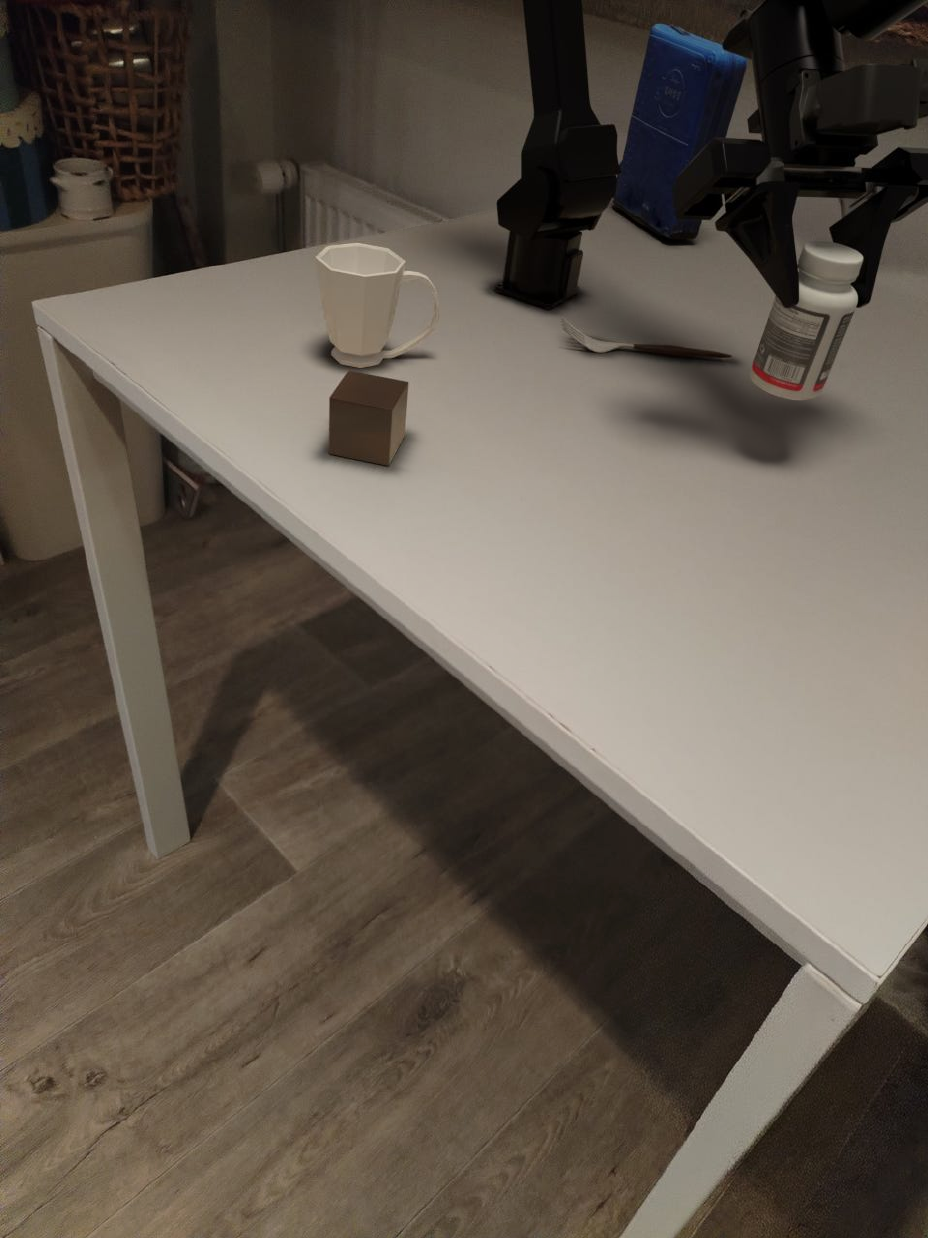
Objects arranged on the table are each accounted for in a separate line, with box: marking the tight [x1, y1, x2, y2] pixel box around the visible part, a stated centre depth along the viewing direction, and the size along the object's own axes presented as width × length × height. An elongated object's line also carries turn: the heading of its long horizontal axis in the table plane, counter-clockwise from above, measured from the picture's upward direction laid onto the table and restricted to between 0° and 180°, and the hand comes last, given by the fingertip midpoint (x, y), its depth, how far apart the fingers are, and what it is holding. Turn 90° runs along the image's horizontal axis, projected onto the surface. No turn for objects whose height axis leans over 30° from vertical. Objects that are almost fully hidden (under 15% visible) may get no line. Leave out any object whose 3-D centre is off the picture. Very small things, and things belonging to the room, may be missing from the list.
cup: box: [315, 242, 440, 369], centre depth 73 cm, size 7×10×8 cm
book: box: [611, 23, 749, 240], centre depth 104 cm, size 14×5×20 cm, turn 23°
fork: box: [560, 316, 732, 359], centre depth 82 cm, size 3×16×2 cm, turn 89°
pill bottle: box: [749, 240, 863, 401], centre depth 64 cm, size 5×5×10 cm
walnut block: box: [328, 369, 409, 467], centre depth 63 cm, size 4×4×4 cm
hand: (827, 305), depth 62 cm, fingers closed on pill bottle, 5 cm apart
